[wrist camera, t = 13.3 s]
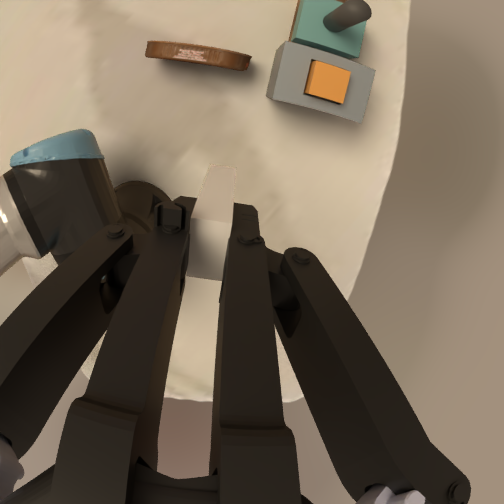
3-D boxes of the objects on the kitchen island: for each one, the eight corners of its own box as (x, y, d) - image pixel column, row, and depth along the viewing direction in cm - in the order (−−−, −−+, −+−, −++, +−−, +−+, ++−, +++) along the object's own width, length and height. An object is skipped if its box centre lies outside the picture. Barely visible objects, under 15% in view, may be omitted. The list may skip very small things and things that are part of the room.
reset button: (303, 92, 30) (308, 93, 27) (310, 62, 28) (316, 60, 25) (335, 101, 31) (342, 103, 28) (342, 72, 28) (351, 71, 26)
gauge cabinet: (265, 96, 37) (272, 99, 29) (276, 50, 33) (285, 40, 25) (340, 114, 39) (364, 124, 31) (351, 71, 35) (378, 71, 26)
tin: (251, 57, 34) (253, 51, 27) (246, 75, 36) (246, 72, 29) (158, 42, 31) (139, 35, 24) (153, 60, 33) (134, 56, 26)
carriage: (348, 59, 31) (389, 53, 21) (290, 41, 30) (311, 24, 19) (357, 17, 27) (399, 0, 16) (300, -2, 26) (324, -31, 15)
